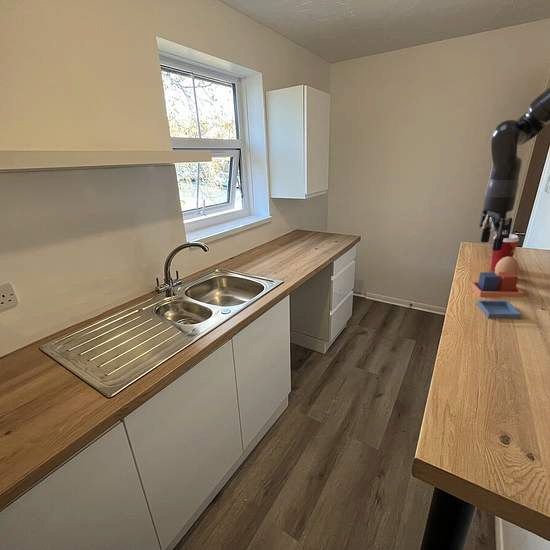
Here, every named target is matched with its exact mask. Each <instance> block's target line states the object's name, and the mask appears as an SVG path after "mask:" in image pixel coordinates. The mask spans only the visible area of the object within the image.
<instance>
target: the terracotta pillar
mask: <svg viewBox="0 0 550 550" xmlns="http://www.w3.org/2000/svg"><path fill="white" fill-rule="evenodd" d="M498 277H499V280H498V285H497V289H496V290H497V291H498V292H515V289H516V287H517V285H518V281H519V276H518V275H517V276H516V275H515V274H514V273H512V272H498Z"/></svg>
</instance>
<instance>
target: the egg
mask: <svg viewBox="0 0 550 550" xmlns="http://www.w3.org/2000/svg"><path fill="white" fill-rule="evenodd" d="M498 272H512V273H514V274H515V275H516V276H518V274H519V272H520V266H519V262H518V260H517V259H516V258H515V257H514V256H513V257H504V258H502V259H501V260H500V261H499V262H498V263H497V264H496V267H495V271H494V273H495V274H496V275H497V276H498Z"/></svg>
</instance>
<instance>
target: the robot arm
mask: <svg viewBox="0 0 550 550" xmlns="http://www.w3.org/2000/svg"><path fill="white" fill-rule="evenodd" d="M549 124H550V86H549V87H547V88H546V89H545V90H544V91H543V92H541V93H540V94H539V95H538V96H537V97H535V98H534V99H533V100H532V101H531V102H530V104H529V105H528V110H527V111H526V112H525V113H523V114H522V116H520V117H519V118H516V119H507V120H504V121H502V122H500V123H499V124H497V125H496V127H495V128H494V130H493V131H492V134H491V137H490V158H491V168H490V172H489V177H488V181H487V185H486V187H485V194H484V200H483V205H482V211H481V215H480V216H481V217H480V221H479V224H478V225H479V228H480V229H481V236H480V242H481V243H489V242H490V237H491V232H492V233H493V236H494V237H495V238H494V237H493V238H494V239H493V242H492V246H491V247H492V248H491V249H492V251H493V250H494V251H499V250H501V249H502V244H503V239H505V238H509V235H510V234H511V229H512V225H513V218H512V217H507V214H508V212H511V211H513V210H514V207H515V203H516V197H517V193H518V189H519V179H520V176H521V170H522V165H523V160H522V157H520V156H518V147H520V146H523V145H525V144H526V143H528V142H529V141H531V140H533V139H534V138H535V137H536V136H538V134H540V133H541V132H542V131H543V130H544V129H545V128H546V127H547V126H548V125H549ZM505 233H506V234H505Z"/></svg>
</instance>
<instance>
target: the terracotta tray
mask: <svg viewBox="0 0 550 550" xmlns="http://www.w3.org/2000/svg"><path fill="white" fill-rule="evenodd" d="M478 282H479V281H471V282H470V287H471V289H473V290H474V292H475V293H476V295H478V296H479V297H494V298H495V297H496V298H497V297H502V298H523V297H524V291H522V290H521V289H520V288H519V287H518V286H516V289H515V292H498V291H497V290H496V292H486V291H481V290H480V289H479V288H478Z"/></svg>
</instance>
